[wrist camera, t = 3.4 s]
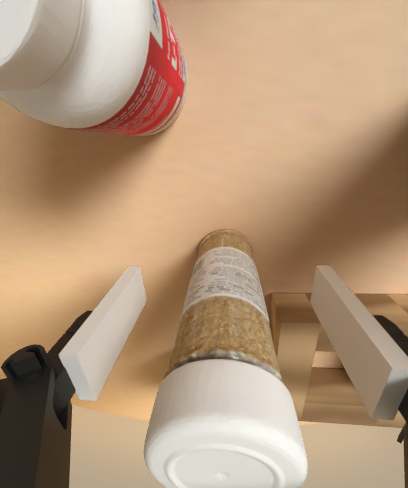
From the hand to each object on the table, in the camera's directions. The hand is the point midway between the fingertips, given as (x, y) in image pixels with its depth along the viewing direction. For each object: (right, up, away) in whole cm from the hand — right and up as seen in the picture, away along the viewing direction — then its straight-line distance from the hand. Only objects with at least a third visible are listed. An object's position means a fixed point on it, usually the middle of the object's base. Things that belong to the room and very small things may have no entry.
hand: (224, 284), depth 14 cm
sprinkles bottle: (0, +2, +4) cm, 5 cm away
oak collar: (+11, -7, +7) cm, 15 cm away
